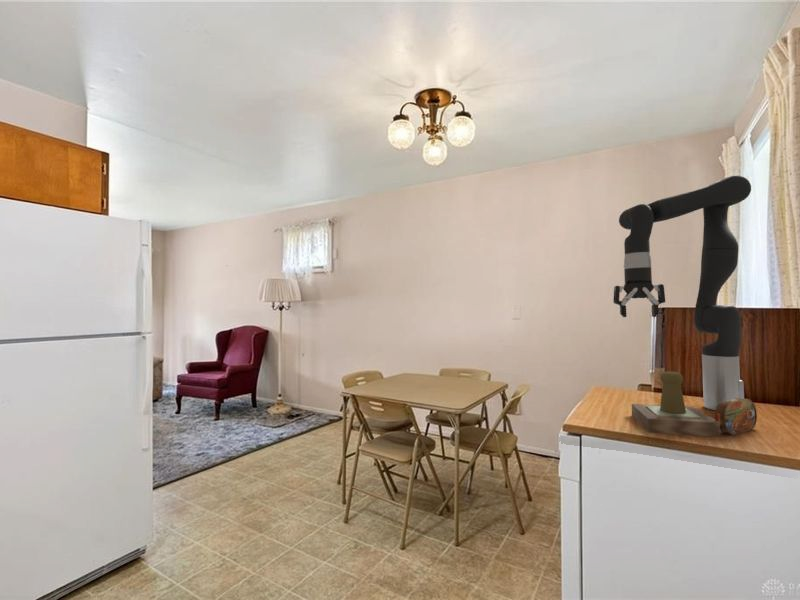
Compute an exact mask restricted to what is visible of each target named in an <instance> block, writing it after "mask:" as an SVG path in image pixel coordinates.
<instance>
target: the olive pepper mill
mask: <svg viewBox="0 0 800 600" xmlns="http://www.w3.org/2000/svg"><path fill="white" fill-rule="evenodd" d="M660 381H661V382H662V389H661V398H660V404H659V405H660V410H661V411H663V412H667V413H673V414H685V413H686V410H685V406H686V405H685V401H684V396H683V390H682V383H683V381H684V377H683V375H682V374H681V373H680V372H676V371H664V372H661V374H660Z"/></svg>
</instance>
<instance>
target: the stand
mask: <svg viewBox="0 0 800 600" xmlns="http://www.w3.org/2000/svg"><path fill="white" fill-rule="evenodd" d="M685 410H686V413H685V414H673V413H667V412H663V411H661V410H660V404H645V403H643V404H642V403H631V415H632V417H633V418H634V419H635V420H636V421H637V422H638V423H639V424H640V425H641V426H642V427H643V429H645V430H646V431H647V432H648V433H656V434H669V433H670V434H671V435H683V436H686V435H687V436H701V437H702V436H703V437H714V438H715V437H717V438H721V431H720V423H719V422H718V421H716V419H714V418H713V417H711V416H709V415H707V414H706V413H704V412H702V411H701V410H700V409H698V408H696V407H694V406H691V405H690V406H688V405H687V406H686V405H685Z"/></svg>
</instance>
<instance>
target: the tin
mask: <svg viewBox="0 0 800 600" xmlns="http://www.w3.org/2000/svg"><path fill="white" fill-rule="evenodd" d="M757 411H758V410H757V408H756V405H755V403H754V402H753V401H752V400H751V399H750V398H744V399H742V398H735V399H731V400H727V401H723V402H720V403H719V404H718V405H717V407H716V410H714V414H715V420H716V421H718V422H719V423H720V433H721V432H722V433H724V434H729V435H732V436H737V435H740V434H743V433H746V432H749V431H752V430H754V429H755V426H756V425H757V418H758V413H757Z"/></svg>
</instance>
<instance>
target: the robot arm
mask: <svg viewBox="0 0 800 600" xmlns="http://www.w3.org/2000/svg"><path fill="white" fill-rule="evenodd" d="M751 191H752V185H751V182H750V180H749V179H748V178H747V177H745V176H742V175H729V176H727V177H723V178H722V179H720V180H717V181H716V182H713V183H711V184H709V185H708V186H705V187H703V188H698V189H695V190H692V191H689V192H684V193H679V194H676V195H673V196H669V197H665V198H660V199H657V200H656V201H653V202H651V203H648V204H646V203H640V204H637V205H634V206H632V207H630V208H628V209H625V210H624V211H623V212H621V214H620V215H619V217H618V223H619V226H620V227H621V228H623V229H626V230H630V232H629V235H628V236H627V237H625V239H624V243H623V245H624V259H623V268H624V270H623V273H624V285H623V286H619V285H615V286H614V287H613V300H612V301H613V304H614V305H618V306H619V314H620V316H622V318H627V306H626V304H627V303H628V302H629V301H630V300H631V299H647V300H648V301H649V302H650V303H651V317H653V318H657V316H659V305H661V304H664V303H666V295H665V286H664V284H663V283H662V284H661V283H660V284H653V281H652V280H653V278H652V273H653V272H652V259H651V258H652V257H651V250H650V238H651V234H652V230H653V228H654V227H653V226H654V224H655V223H658V222H663V221H667V220H668V221H669V220H671V219H675V218H679V217H681V216H684V215H687V214H691V213H694V212H695V211H699V210H703V213H702V214H703V234H702V236H703V237H702V246H701V247H702V249H701V259H700V260H701V261H700V262H701V264H700V276H699V277H700V278H699V286H698V292H697V297H696V303H695V308H694V315H693V323H694V326H695V328H696V330H697V331H698V332H699V333H703V334H716V335H717V339H716V340H715V341H713V342H711V343H707V344H704V345H702V346H701V363H702V364H701V365H702V366H701V367H702V389H703V391H702V393H703V396H702V397H703V398H702V399H703V400H702V401H703V407H704V408H706V409H708V410H712V411H715V410H716V407H717V405H718V404H719V403H720V402H723V401H727V400H731V399H735V398H742V399H745V390H744V389H745V388H744V381H743V380H742V379H741V375H740V374H741V373H740V370H741V369H740V350H741V345H742V315H741V312H740V309H738V308H737V307H736V306H734V305H731V304H729V305H727V304H723V305H721V304H720V305H719V304H717V300H718V296H719V293H720V291H721V289H722V288H723V286H724V284H725V283H726V282H727V281H728V280H729V278H731V276H732V275H733V274H734V272H735V270H736V269H737V267H738V263H739V262H738V261H739V260H738V259H739V243H738V241H737V239H736V237H735V235H734V234H733V232H732V230H731V229H730V228H729V224H728V212H729V207H731V206H734V205H737V204H739V203H741V202H743V201H745V200H746V199H747V198H748V197H749V196H750V194H751ZM653 290H654V291H656V292H657V299H656V298H655V297H656V296H654V295H653V294H652V291H653ZM622 291H624V292H625V293H626V294H625V295H624V297H623V298H622V299H621V300H620V293H622Z"/></svg>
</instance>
